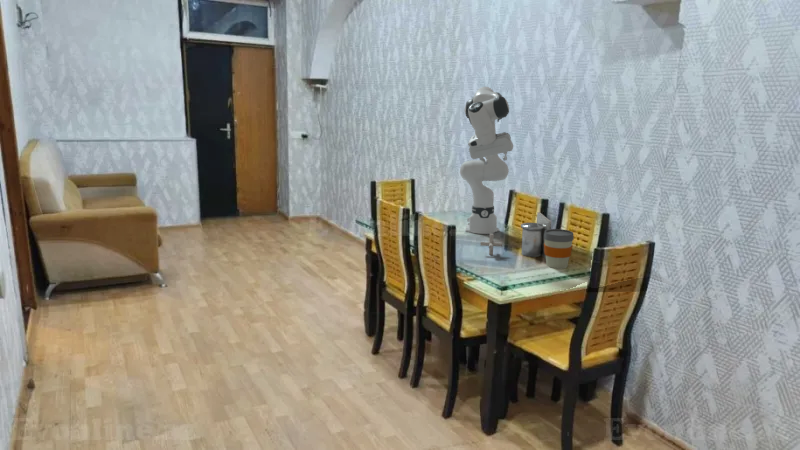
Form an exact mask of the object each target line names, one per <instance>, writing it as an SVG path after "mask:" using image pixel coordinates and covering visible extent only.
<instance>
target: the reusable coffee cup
mask: <svg viewBox="0 0 800 450" xmlns="http://www.w3.org/2000/svg"><path fill="white" fill-rule="evenodd" d="M544 239H545V243H544V252H545V255H546V259H545V261H546V264H545V265H546V267H549V268H550V269H551V268H552V269H559V270H560V269H566V268H568V266H569V260H570V257H571V256H572V252H573V251H572V249H573V241H574V240H575V238H574V232H573V231H572V230H567V229H562V228H561V229H560V228H559V229H558V228H551V229H549V230H546V231H545V233H544Z"/></svg>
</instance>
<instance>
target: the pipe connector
mask: <svg viewBox="0 0 800 450" xmlns="http://www.w3.org/2000/svg"><path fill="white" fill-rule="evenodd" d="M494 235H495V234H494V233H490V234H489V241H480V244H479V245H480V246H482V247H483V246H484V247H488V248H489V251H488V255H489V256H493V255H494V247H503V242H496V241H494Z"/></svg>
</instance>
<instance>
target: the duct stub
mask: <svg viewBox="0 0 800 450" xmlns="http://www.w3.org/2000/svg"><path fill="white" fill-rule="evenodd" d="M536 215H537V216H536V222H523V223H521V224H520V228H522V234H521V236H522V237H521V255H522V256H524V257H530V258H537V257H540V256H542V257H543V258H544V259H545V260H546V255H545V252H544V243H545V239H544V233H545V231H546V230H549V229H552V221H551V220H550V219H549V218H547V217H546V216H545V215H544V214H543V213H541V212H540V211H539V212H537V214H536Z"/></svg>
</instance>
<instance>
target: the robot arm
mask: <svg viewBox="0 0 800 450" xmlns="http://www.w3.org/2000/svg"><path fill="white" fill-rule="evenodd" d="M509 113H510V105H509V102H508V100H507V99H506V98H505V97H504V96H503V95H502V94H501V93H500V92H496V91H494V90H493V89H492V88H491V87H489V86H482V87H479V88H478V89H477V90H476V91H475V93H474V94H473V97H471V99H470V98H469V99H468V100H467V101H466V103H465V105H464V114H465V116H466V119H468V120H469V124H470V125H471V127H472V128H473V129H474V135H472V136H471V137H470V138H469V140H468V142H467V143H468V147H469V149H468V152H469V156H470V157H471V160H466V161H463V162H462V163H461V165H460V167H459V168H460V169H459V173H460V176H461V178H462V179H463V180H464V181H466V182H467V184H468V185H469V186H470V189H471V191H472V206H471V215H469V217H467V221H466V222H468V223H467V224H466V227H465V232H467V233H473V234H479V235H486V234H487V235H488V234H489V235H490V234H494V233H496V232H500V231H501V230H500V228H498V221H497V218H498V217H497V216H496V215H495V206H494V198H495V197H494V194H495V193H494V191H493V190H492V189H491V188H490V187H487V186H486V185H485V184H483V182H499V181H504V180H505V179H506V178H508V175H509V165H508V164H507V163H506V162H505V161H508V157H507V155H508V152H512V151H513V149H514V143H513V141H512V139H511V135H510V133H508V132H506V131H505V132H500V133H497V131H496V123H495V121H497V123H499V122H500V120H502V119H503V118H507V116H508V115H509ZM499 154H503V156H502V159H503V160H502V159H501V157H500V156H499Z"/></svg>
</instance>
